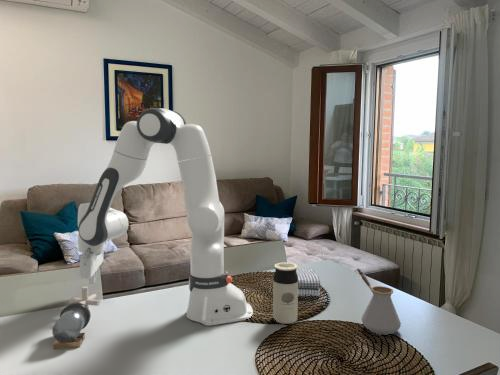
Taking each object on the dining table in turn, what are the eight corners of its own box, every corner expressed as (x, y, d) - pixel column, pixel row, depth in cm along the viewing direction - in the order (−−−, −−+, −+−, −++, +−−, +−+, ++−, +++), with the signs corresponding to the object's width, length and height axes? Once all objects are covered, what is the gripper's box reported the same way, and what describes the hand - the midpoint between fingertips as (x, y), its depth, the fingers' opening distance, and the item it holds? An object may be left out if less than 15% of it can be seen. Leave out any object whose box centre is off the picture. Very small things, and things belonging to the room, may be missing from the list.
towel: (281, 298, 145) (281, 278, 145) (277, 282, 164) (277, 264, 163) (321, 298, 146) (322, 278, 145) (313, 282, 164) (313, 264, 163)
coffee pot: (408, 336, 115) (410, 288, 114) (373, 340, 113) (375, 291, 111) (370, 308, 136) (372, 266, 135) (340, 311, 133) (341, 268, 132)
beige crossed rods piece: (90, 324, 123) (89, 293, 122) (62, 321, 125) (61, 291, 124) (108, 311, 132) (107, 283, 131) (82, 309, 134) (80, 281, 133)
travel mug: (274, 313, 131) (274, 261, 130) (297, 314, 130) (298, 262, 129) (272, 323, 124) (272, 268, 122) (297, 325, 123) (298, 270, 121)
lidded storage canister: (61, 332, 117) (60, 303, 116) (91, 330, 118) (90, 301, 117) (50, 349, 107) (48, 317, 106) (82, 347, 108) (81, 315, 108)
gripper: (94, 252, 128) (95, 292, 130) (106, 238, 149) (107, 273, 150) (74, 252, 127) (75, 293, 129) (89, 238, 147) (90, 274, 149)
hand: (92, 282), depth 139 cm, fingers closed
